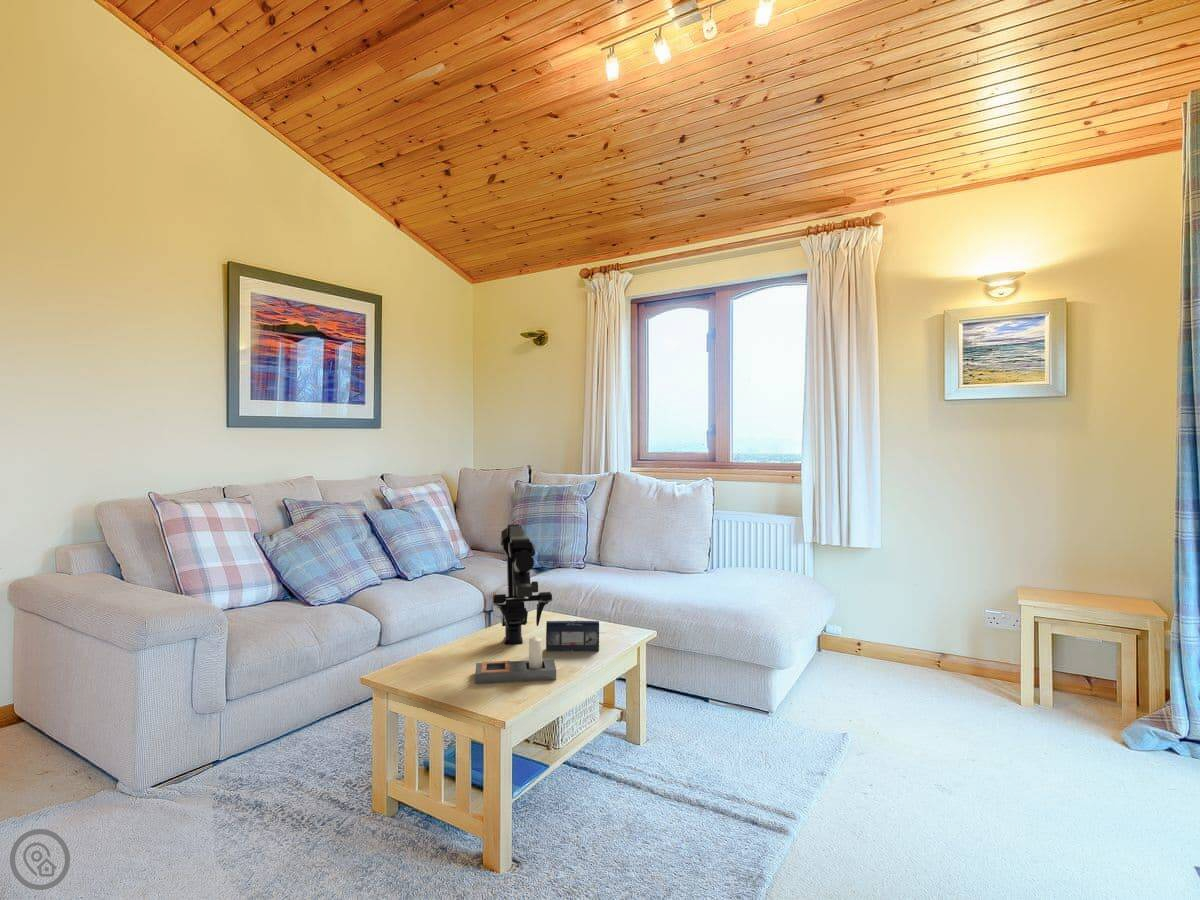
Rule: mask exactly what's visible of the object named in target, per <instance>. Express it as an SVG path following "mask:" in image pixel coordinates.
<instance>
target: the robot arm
mask: <svg viewBox="0 0 1200 900" xmlns="http://www.w3.org/2000/svg"><path fill="white" fill-rule="evenodd" d="M499 541H500V546H501V548H502V552H503V554H504V555H505V557H506V576H507V577H506V578H507V580H506V582H507V594H506V593H505V594H503V593H502V594H494V595H493V596H492V600H491V606H496V609H499V611H500V613H501V615H500V617H501V618H500V619H501V627H505V634H504V635H505V636H504V637H503V643H504V645H514V644H516V645H517V644H523V641H524V640H523V636H522V626H526V625H527V624H528V617H529V616H528V615H529V612H528V610H527V608H526V606H525V603H526V602H538V603H537V604H536V620H535V622H536V626H537V627H538V626H539V624H540V620H541V617H542V614H543V610H544V607H545V606H547V605H548V604H549V603H551V602H552V601H553V595H552V593H551V591H543V592H539V581H537V580H536V581H531V570H532V569H533V568H534V565H535V561H534V556H535V555H536V549H535V546H534V544H533V542H532V541H531V539H530V538H529V537H527V536H525V530H523V527H522V524H519V523H516V524H513V523H512V524H507V525H506V528H504V529H503V530H501V532H500V540H499ZM533 593H537V595H536V594H533ZM506 595H507V596H506Z"/></svg>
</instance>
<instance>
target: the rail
mask: <svg viewBox="0 0 1200 900" xmlns="http://www.w3.org/2000/svg"><path fill="white" fill-rule="evenodd" d="M556 680H557V667H556V663H555V660H554V659H553V658H552V659H542V669H529V660H516V661H515V660H513V661H511V660H496V661H481V662H476V663H475V672H474V684H475V685H481V684H482V685H484V684H485V685H486V684H504V683H505V684H506V683H519V682H522V683H523V682H540V681H556Z"/></svg>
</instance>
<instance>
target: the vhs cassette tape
mask: <svg viewBox="0 0 1200 900" xmlns="http://www.w3.org/2000/svg"><path fill="white" fill-rule="evenodd" d="M545 625H546V626H545V627H546V629H545V651H546V652H599V651H600V621H599V620H546V623H545Z"/></svg>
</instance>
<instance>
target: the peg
mask: <svg viewBox="0 0 1200 900" xmlns="http://www.w3.org/2000/svg"><path fill="white" fill-rule="evenodd" d="M542 660H543V638H541V637H531V638H529V641H528V661H529V669H542Z"/></svg>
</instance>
